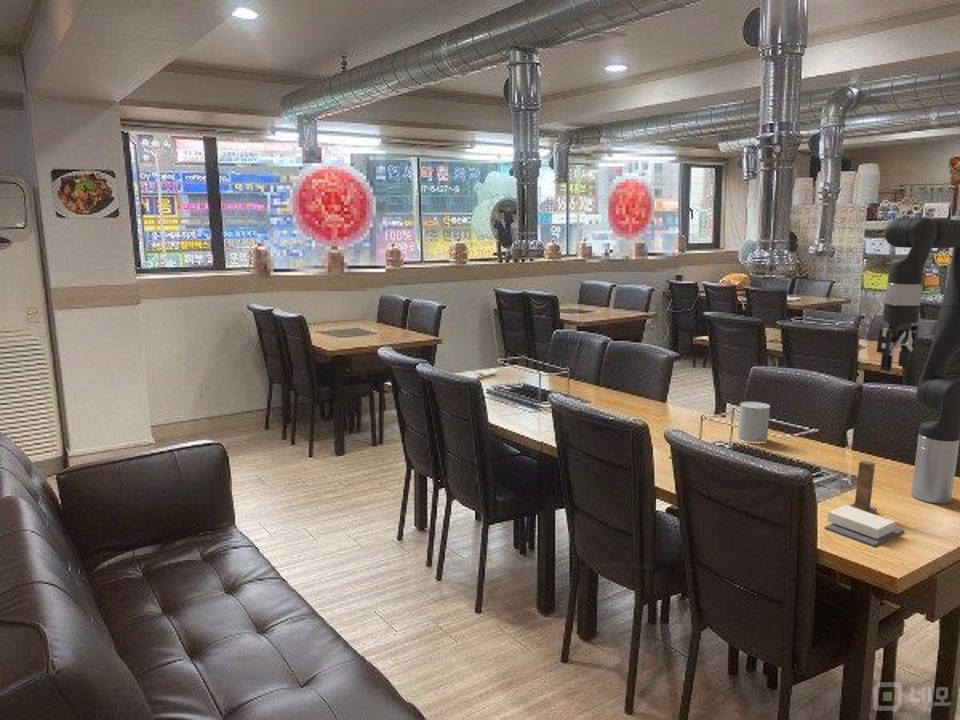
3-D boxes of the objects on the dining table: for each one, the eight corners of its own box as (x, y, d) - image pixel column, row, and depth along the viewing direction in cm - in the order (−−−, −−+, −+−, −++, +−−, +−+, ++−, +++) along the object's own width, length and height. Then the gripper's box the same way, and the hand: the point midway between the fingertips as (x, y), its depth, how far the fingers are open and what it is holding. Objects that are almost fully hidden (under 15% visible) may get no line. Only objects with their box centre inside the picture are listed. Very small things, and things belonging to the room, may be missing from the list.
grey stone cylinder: (737, 442, 241) (740, 407, 239) (737, 434, 250) (739, 400, 248) (768, 445, 238) (771, 409, 236) (766, 437, 247) (769, 402, 245)
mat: (855, 515, 182) (855, 513, 181) (904, 532, 172) (904, 530, 172) (824, 528, 174) (824, 526, 174) (873, 546, 164) (874, 544, 164)
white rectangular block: (846, 505, 180) (895, 521, 170) (845, 515, 181) (894, 532, 171) (828, 512, 176) (877, 529, 166) (827, 522, 176) (876, 540, 166)
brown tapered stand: (857, 506, 188) (862, 458, 185) (876, 512, 184) (882, 463, 181) (846, 510, 185) (852, 461, 182) (866, 517, 181) (872, 467, 178)
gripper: (900, 299, 178) (893, 362, 182) (871, 302, 171) (863, 369, 174) (933, 301, 172) (925, 367, 176) (903, 305, 165) (895, 374, 168)
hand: (894, 368), depth 175 cm, fingers open, 8 cm apart
